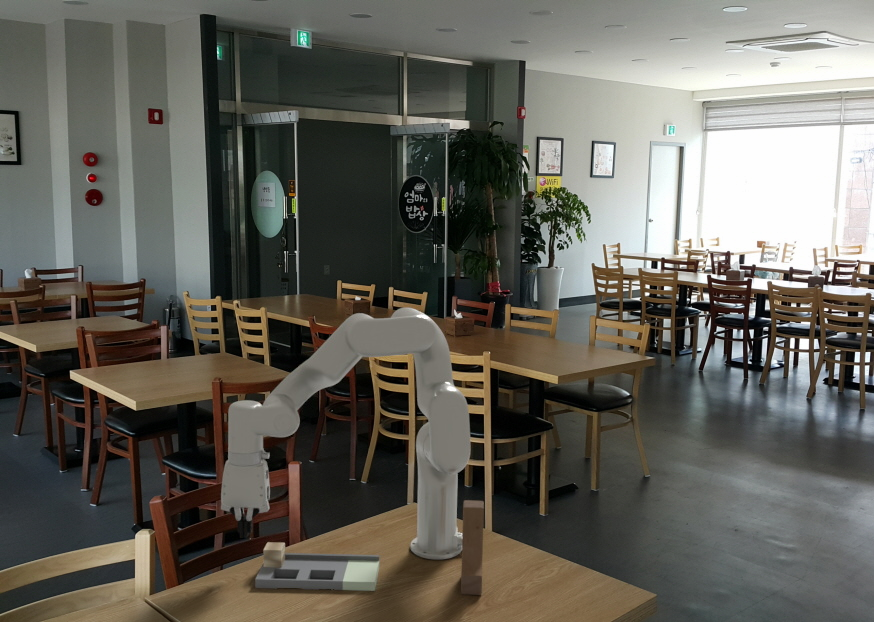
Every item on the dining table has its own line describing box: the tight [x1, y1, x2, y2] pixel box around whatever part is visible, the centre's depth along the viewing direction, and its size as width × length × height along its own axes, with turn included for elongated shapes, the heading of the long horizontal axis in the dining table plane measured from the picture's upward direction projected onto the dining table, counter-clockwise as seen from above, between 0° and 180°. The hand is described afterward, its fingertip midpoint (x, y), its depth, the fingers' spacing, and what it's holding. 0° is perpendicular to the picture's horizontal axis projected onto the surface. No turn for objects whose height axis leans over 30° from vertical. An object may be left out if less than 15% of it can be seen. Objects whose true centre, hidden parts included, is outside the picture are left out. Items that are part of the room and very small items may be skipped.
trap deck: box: [254, 552, 380, 592], centre depth 178 cm, size 26×11×3 cm, turn 89°
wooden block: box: [460, 499, 485, 596], centre depth 175 cm, size 9×4×18 cm, turn 177°
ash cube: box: [262, 541, 286, 567], centre depth 180 cm, size 4×4×4 cm
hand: (245, 535), depth 179 cm, fingers closed
